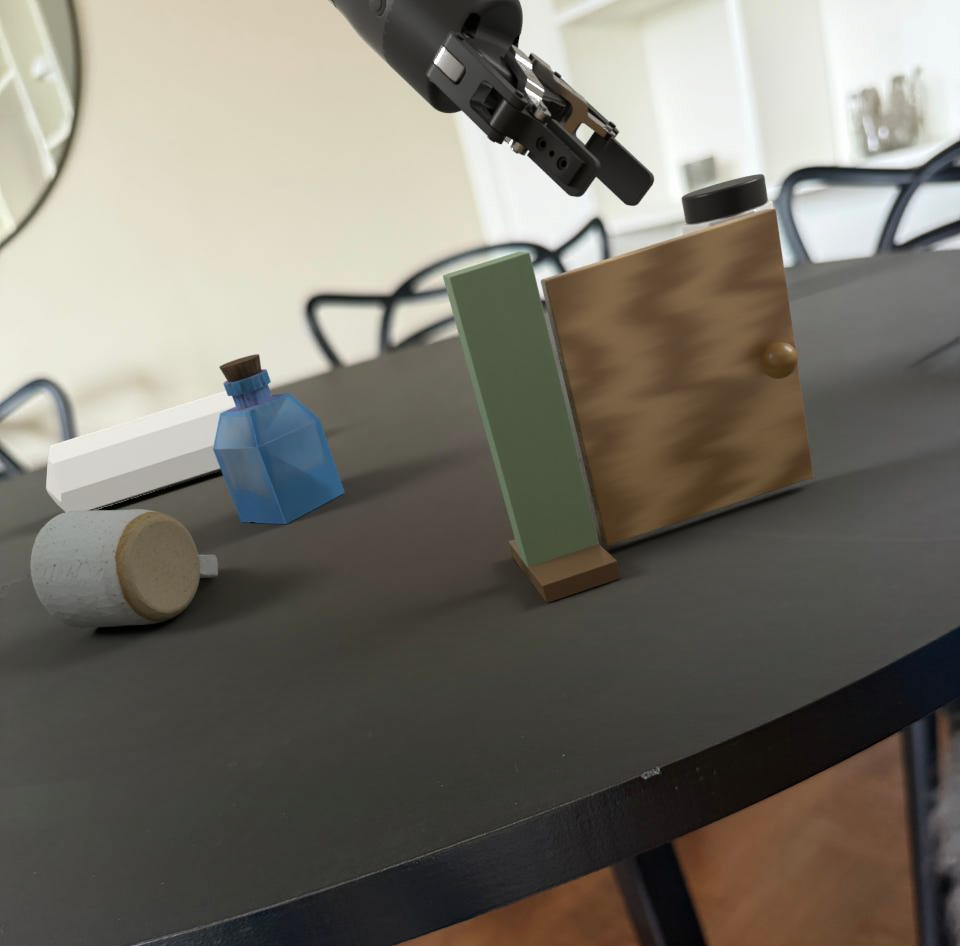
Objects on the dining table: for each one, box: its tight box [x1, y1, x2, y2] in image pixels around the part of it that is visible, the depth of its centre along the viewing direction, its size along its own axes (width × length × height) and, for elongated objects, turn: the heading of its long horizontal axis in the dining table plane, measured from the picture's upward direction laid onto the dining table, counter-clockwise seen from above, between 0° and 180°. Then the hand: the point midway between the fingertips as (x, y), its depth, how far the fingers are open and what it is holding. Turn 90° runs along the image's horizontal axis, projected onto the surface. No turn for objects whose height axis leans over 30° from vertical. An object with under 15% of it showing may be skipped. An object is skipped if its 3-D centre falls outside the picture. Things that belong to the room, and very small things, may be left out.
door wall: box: [442, 251, 622, 604], centre depth 52 cm, size 4×8×16 cm, turn 12°
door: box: [540, 208, 814, 547], centre depth 52 cm, size 12×3×14 cm, turn 102°
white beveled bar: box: [45, 390, 236, 513], centre depth 103 cm, size 7×7×24 cm
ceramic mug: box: [29, 508, 219, 629], centre depth 67 cm, size 11×8×8 cm
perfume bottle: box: [213, 353, 346, 525], centre depth 80 cm, size 6×6×12 cm
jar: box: [681, 173, 774, 235], centre depth 104 cm, size 9×8×12 cm
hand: (618, 188), depth 58 cm, fingers open, 8 cm apart
